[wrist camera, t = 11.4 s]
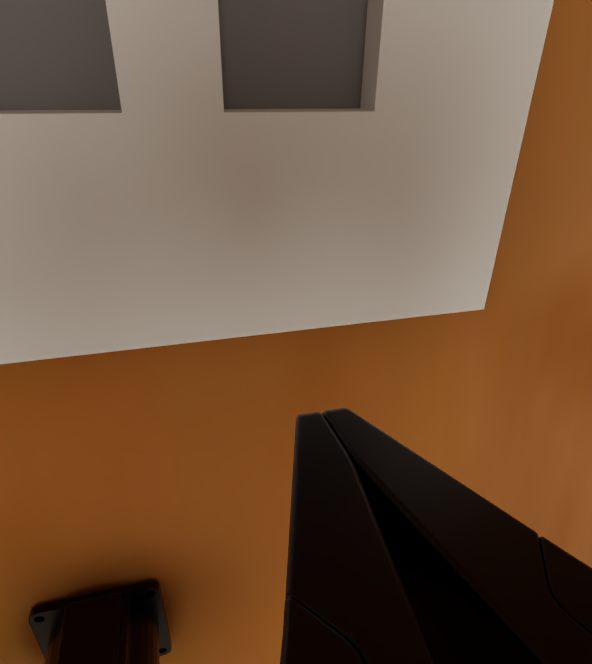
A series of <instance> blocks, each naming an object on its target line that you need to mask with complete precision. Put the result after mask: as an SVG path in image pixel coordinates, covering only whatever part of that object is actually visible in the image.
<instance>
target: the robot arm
mask: <svg viewBox="0 0 592 664" xmlns="http://www.w3.org/2000/svg"><path fill="white" fill-rule="evenodd" d="M29 624H30V626H31V628H32V630H33V633H34V635H35V637H36V639H37V642H38V644H39V646H40V649H41V651H42V653H43V655H44V658H45V664H159V656H163V655H166V654H168V653H169V652H170V651H171V639H170V634H169V629H168V624H167V619H166V614H165V609H164V604H163V599H162V593H161V588H160V585H159V583H157V582H154V581H151V582H145V583H141V584H136V585H132V586H127V587H123V588H118V589H114V590H109V591H105V592H100V593H96V594H91V595H87V596H82V597H78V598H73V599H69V600H64V601H59V602H55V603H50V604H46V605H41V606H37V607H35V608H33V609H32V610H31V612H30V615H29ZM280 664H592V568H591V567H589V566H588V565H586V564H585V563H583V562H581V561H580V560H578V559H577V558H575V557H573V556H572V555H570V554H569V553H567V552H566V551H564V550H563V549H561V548H560V547H558V546H557V545H555V544H553V543H552V542H550V541H549V540H547V539H546V538H544V537H539V538H538V534H537V533H536V532H535V531H533V530H532V529H530V528H529V527H527V526H526V525H524V524H523V523H521V522H520V521H518V520H517V519H515V518H513V517H512V516H510V515H509V514H507V513H506V512H504V511H503V510H501V509H500V508H498V507H497V506H495V505H494V504H492V503H491V502H489V501H488V500H486V499H484V498H483V497H481V496H480V495H478V494H477V493H475V492H474V491H472V490H471V489H469V488H468V487H466V486H465V485H463V484H462V483H460V482H459V481H457V480H456V479H454V478H452V477H451V476H449V475H448V474H446V473H445V472H443V471H442V470H440V469H439V468H437V467H436V466H434V465H433V464H431V463H430V462H428V461H427V460H425V459H423V458H422V457H420V456H419V455H417V454H416V453H414V452H413V451H411V450H410V449H408V448H407V447H405V446H404V445H402V444H401V443H399V442H398V441H396V440H395V439H393V438H391V437H390V436H388V435H387V434H385V433H384V432H382V431H381V430H379V429H378V428H376V427H375V426H373V425H372V424H370V423H369V422H367V421H366V420H364V419H362V418H361V417H359V416H358V415H356V414H355V413H353V412H352V411H350V410H349V409H346V408H340V409H334V410H327V411H324V412H323V413H322V414H321V413H319V412H314V413H308V414H301V415H298V416H297V418H296V429H295V446H294V463H293V480H292V497H291V513H290V530H289V547H288V564H287V581H286V601H285V609H284V625H283V638H282V649H281V659H280Z"/></svg>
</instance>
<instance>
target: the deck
mask: <svg viewBox="0 0 592 664" xmlns="http://www.w3.org/2000/svg"><path fill="white" fill-rule="evenodd" d="M553 2H554V0H0V364H8V363H16V362H25V361H34V360H43V359H52V358H60V357H69V356H78V355H87V354H95V353H104V352H113V351H122V350H131V349H139V348H148V347H157V346H166V345H174V344H183V343H192V342H201V341H210V340H218V339H227V338H236V337H245V336H254V335H262V334H271V333H280V332H289V331H297V330H306V329H315V328H324V327H333V326H341V325H350V324H359V323H368V322H377V321H385V320H394V319H403V318H412V317H420V316H429V315H438V314H447V313H456V312H464V311H473V310H482V309H484V307H485V302H486V298H487V294H488V289H489V285H490V280H491V276H492V271H493V267H494V263H495V258H496V254H497V249H498V245H499V241H500V236H501V232H502V227H503V223H504V219H505V214H506V210H507V205H508V201H509V196H510V192H511V188H512V183H513V179H514V174H515V170H516V166H517V161H518V157H519V152H520V148H521V143H522V139H523V135H524V130H525V126H526V121H527V117H528V113H529V108H530V104H531V99H532V95H533V90H534V86H535V82H536V77H537V73H538V68H539V64H540V60H541V55H542V51H543V46H544V42H545V37H546V33H547V29H548V24H549V20H550V15H551V11H552V7H553Z"/></svg>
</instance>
